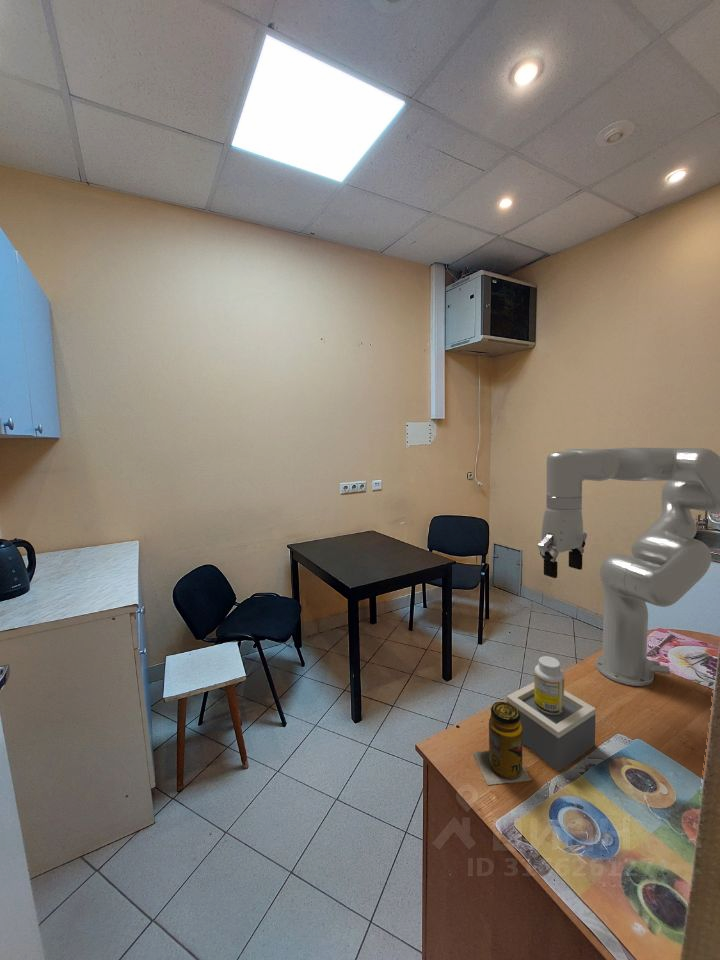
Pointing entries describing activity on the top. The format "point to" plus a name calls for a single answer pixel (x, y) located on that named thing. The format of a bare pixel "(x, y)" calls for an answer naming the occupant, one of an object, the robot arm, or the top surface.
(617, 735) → the top surface
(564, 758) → the stand
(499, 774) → the condiment
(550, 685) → the supplement bottle
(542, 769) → the top surface
